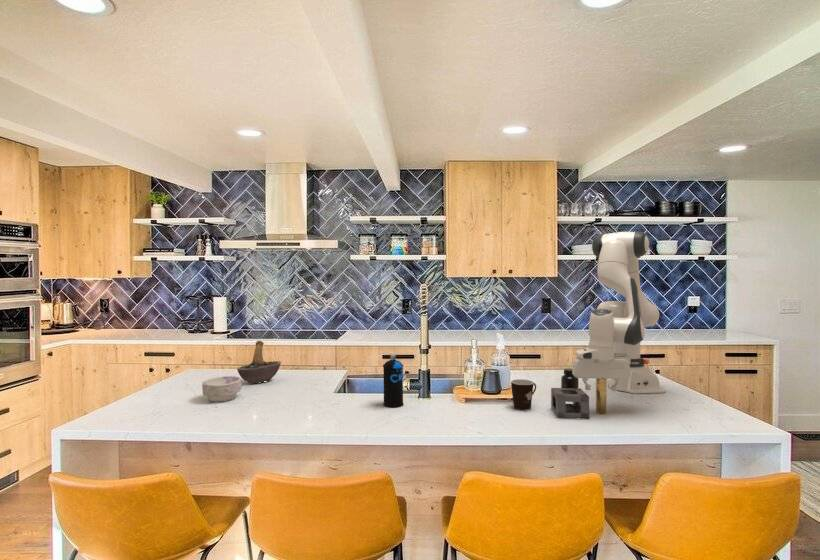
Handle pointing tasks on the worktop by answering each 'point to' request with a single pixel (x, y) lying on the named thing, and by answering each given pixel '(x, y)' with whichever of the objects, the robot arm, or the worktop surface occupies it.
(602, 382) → the brass tube
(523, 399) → the coffee mug
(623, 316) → the robot arm
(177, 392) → the worktop surface
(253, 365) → the mortar and pestle
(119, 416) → the worktop surface
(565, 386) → the supplement bottle
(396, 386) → the aerosol can
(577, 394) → the collar stand
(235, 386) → the grey stone bowl
